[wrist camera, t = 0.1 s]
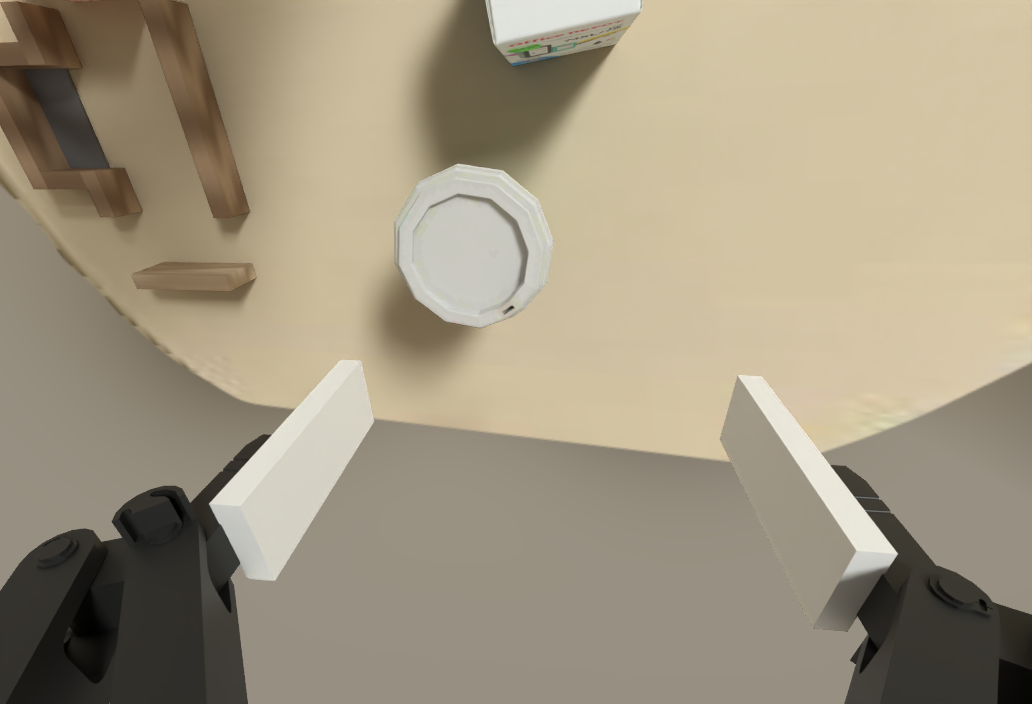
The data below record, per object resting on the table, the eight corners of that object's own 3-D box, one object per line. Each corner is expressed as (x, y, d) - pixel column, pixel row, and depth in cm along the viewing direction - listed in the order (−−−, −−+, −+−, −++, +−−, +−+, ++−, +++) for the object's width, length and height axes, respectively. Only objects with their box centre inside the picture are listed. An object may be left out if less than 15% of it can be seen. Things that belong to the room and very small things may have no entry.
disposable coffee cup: (417, 201, 40) (346, 241, 27) (508, 121, 36) (476, 122, 23) (489, 288, 43) (457, 363, 30) (578, 224, 39) (586, 277, 26)
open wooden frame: (-18, 13, 36) (-80, 1, 32) (187, 4, 34) (144, -9, 31) (110, 274, 47) (74, 287, 43) (269, 277, 45) (245, 291, 42)
